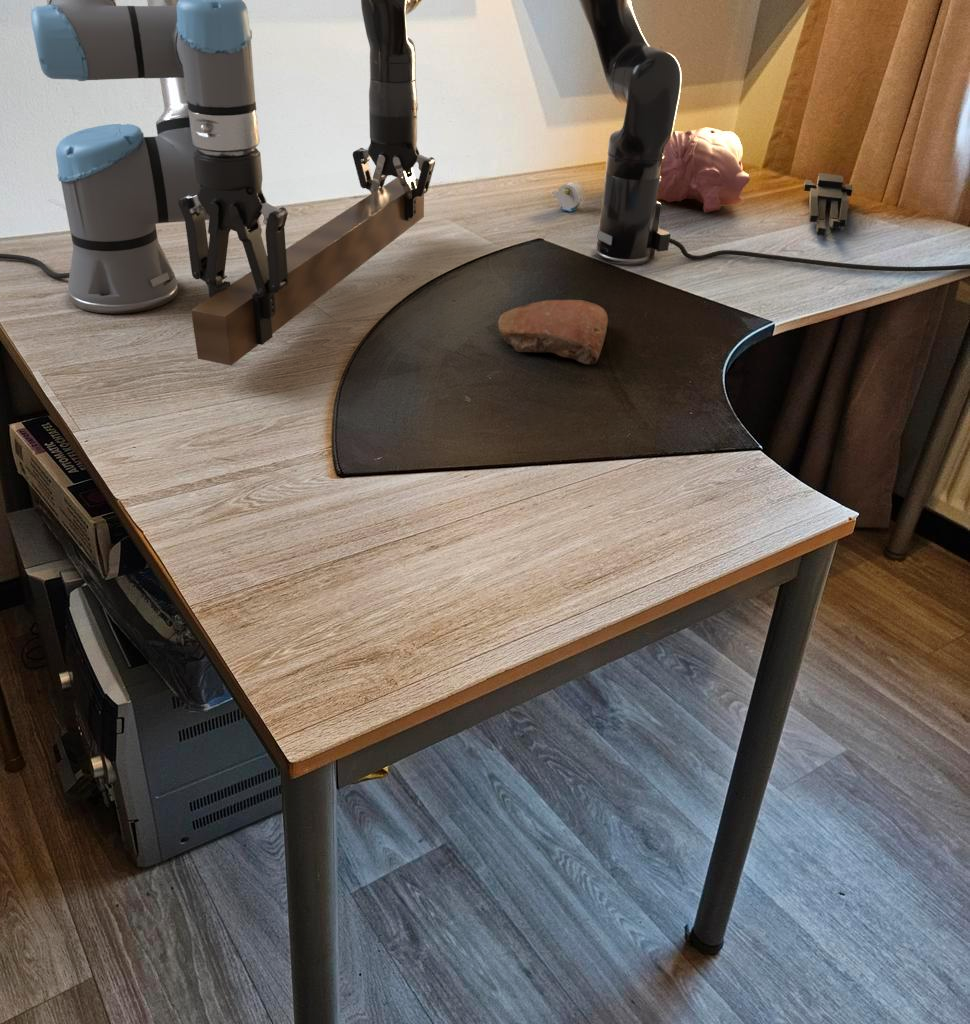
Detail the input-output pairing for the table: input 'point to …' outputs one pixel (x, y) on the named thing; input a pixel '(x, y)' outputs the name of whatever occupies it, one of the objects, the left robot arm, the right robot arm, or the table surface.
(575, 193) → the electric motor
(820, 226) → the toy
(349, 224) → the bar
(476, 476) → the table surface
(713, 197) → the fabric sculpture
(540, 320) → the ceramic shard
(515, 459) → the table surface
